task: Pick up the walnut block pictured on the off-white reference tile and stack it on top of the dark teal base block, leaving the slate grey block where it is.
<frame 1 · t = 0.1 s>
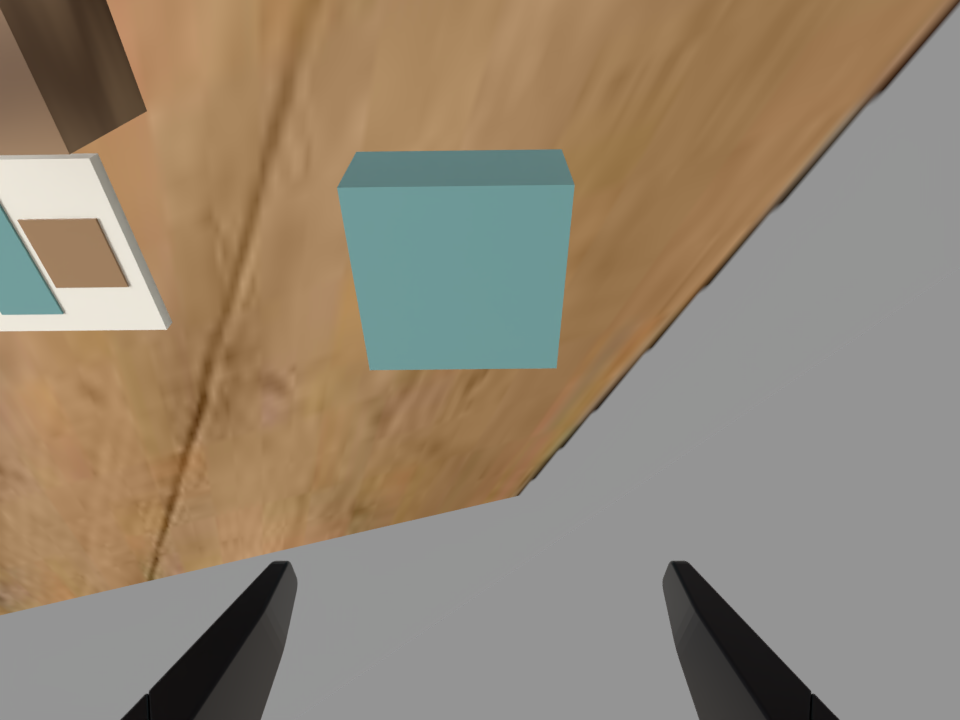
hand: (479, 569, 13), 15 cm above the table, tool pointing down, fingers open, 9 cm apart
reference tile: (47, 247, 24), on the table
walnut block: (47, 34, 19), on the table
teal base block: (462, 241, 24), on the table
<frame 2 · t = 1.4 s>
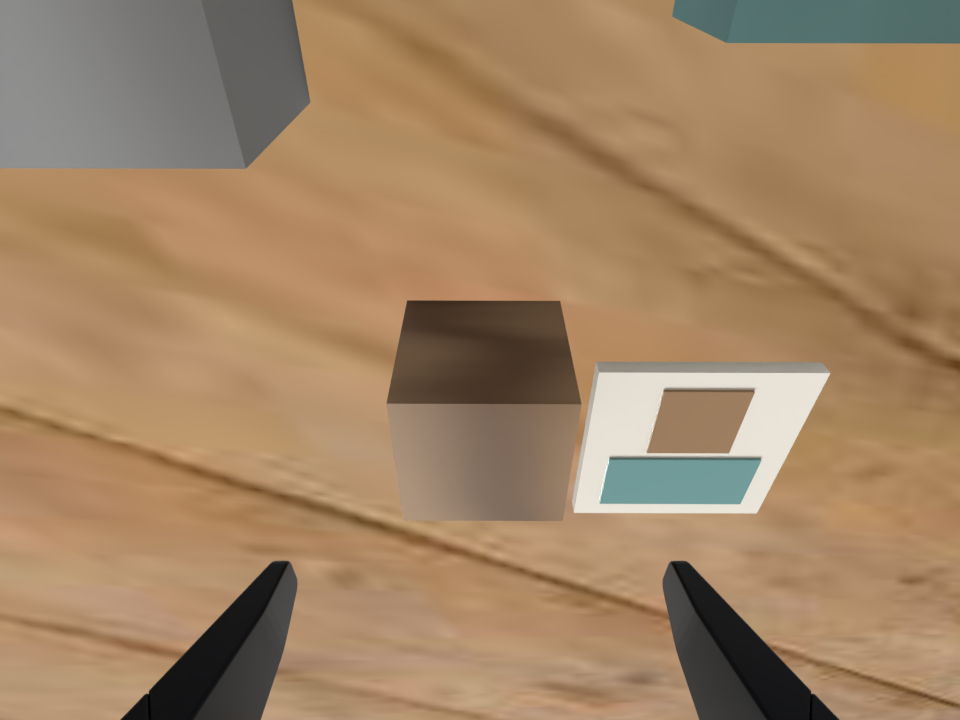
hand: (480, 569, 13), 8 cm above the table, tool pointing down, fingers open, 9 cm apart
reference tile: (682, 439, 22), on the table
walnut block: (483, 358, 19), on the table
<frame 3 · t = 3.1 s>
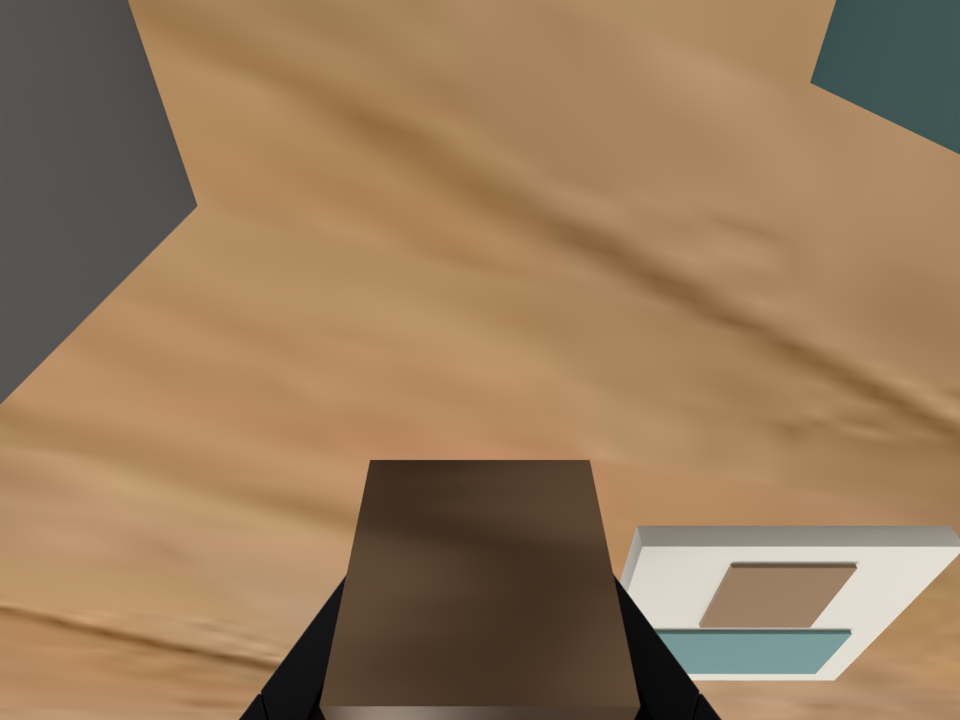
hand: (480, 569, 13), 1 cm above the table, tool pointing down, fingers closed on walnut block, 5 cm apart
reference tile: (745, 604, 16), on the table
walnut block: (479, 524, 14), on the table, touching gripper
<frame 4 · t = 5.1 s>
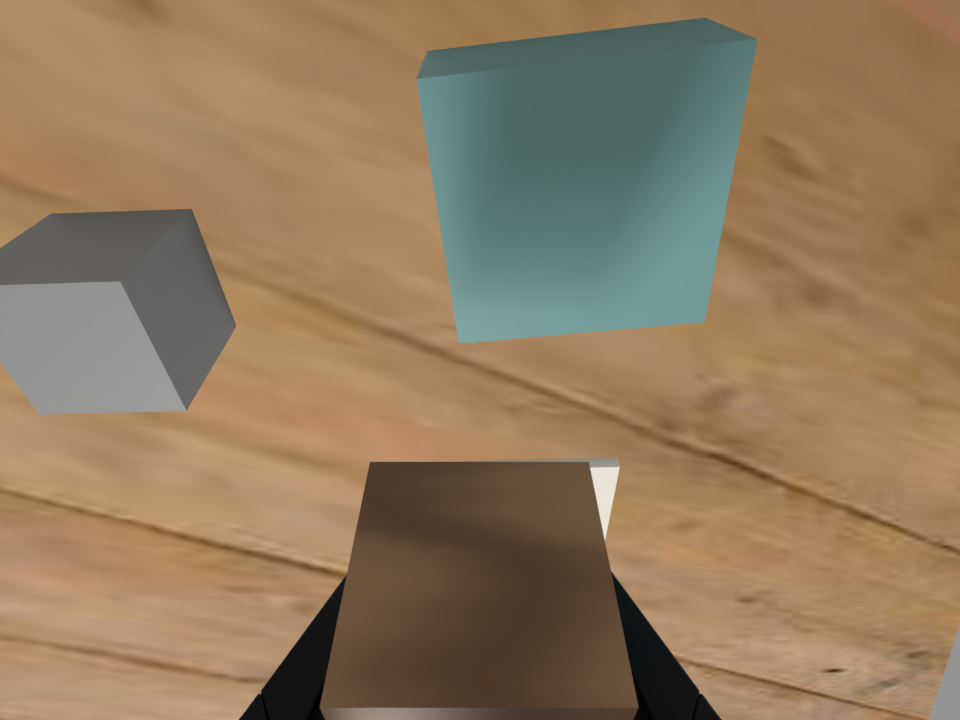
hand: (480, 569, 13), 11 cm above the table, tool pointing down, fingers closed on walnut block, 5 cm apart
reference tile: (534, 508, 30), on the table
walnut block: (479, 526, 14), point 10 cm above the table, touching gripper
teal base block: (563, 168, 18), on the table
slate grey block: (151, 273, 21), on the table
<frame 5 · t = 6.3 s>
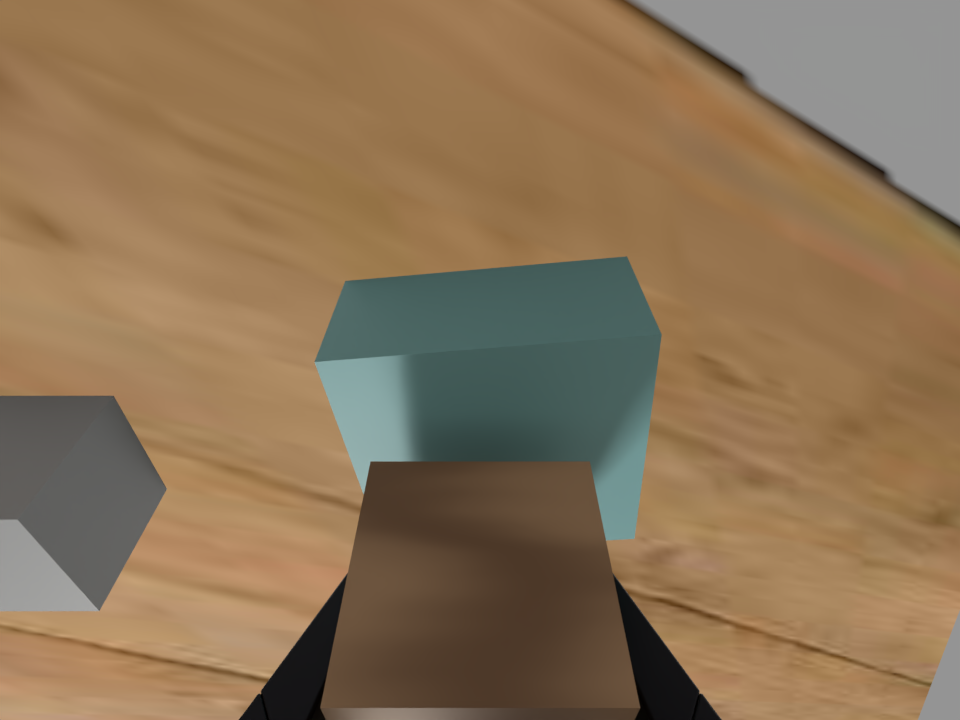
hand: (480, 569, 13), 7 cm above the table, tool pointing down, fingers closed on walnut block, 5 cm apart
walnut block: (480, 526, 14), point 5 cm above the table, touching gripper
teal base block: (495, 370, 18), on the table
slate grey block: (75, 444, 20), on the table
when the fingers open (6 cm above the table, at t = 7.1 s): walnut block drops 1 cm, resting on teal base block.
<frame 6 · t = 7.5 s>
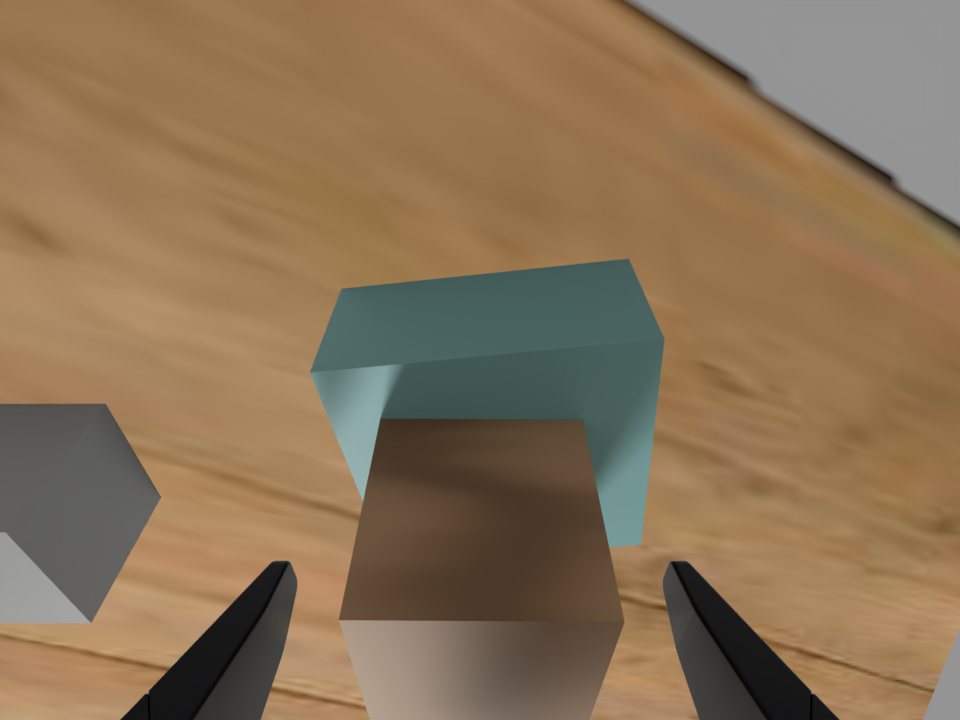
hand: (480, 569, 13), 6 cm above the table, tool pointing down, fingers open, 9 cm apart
walnut block: (480, 484, 15), point 4 cm above the table, touching teal base block
teal base block: (496, 375, 18), on the table, touching walnut block
slate grey block: (68, 452, 20), on the table
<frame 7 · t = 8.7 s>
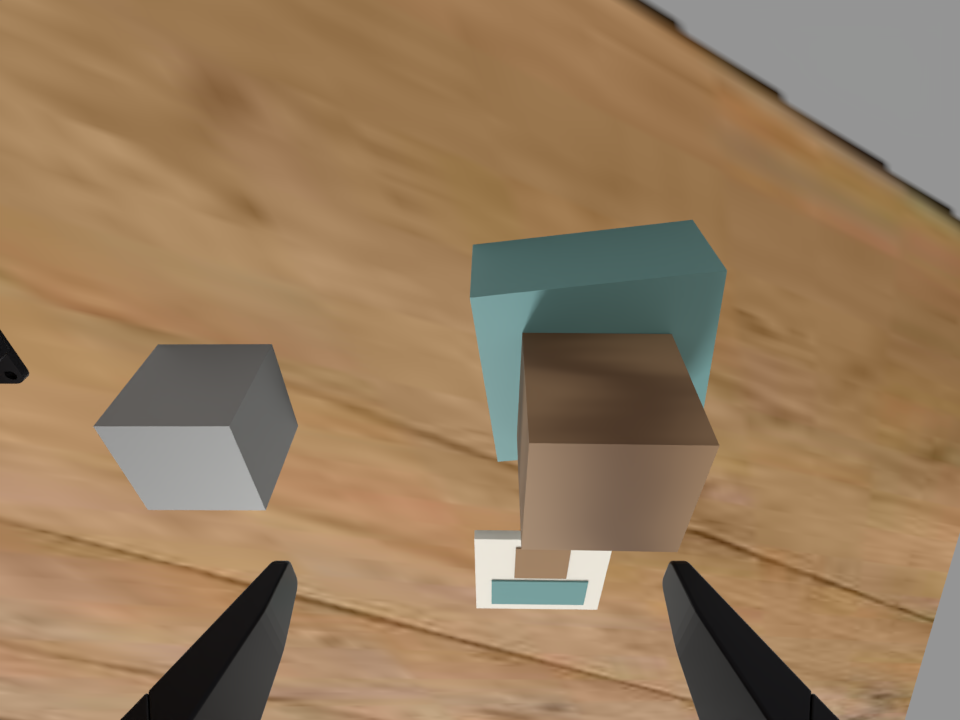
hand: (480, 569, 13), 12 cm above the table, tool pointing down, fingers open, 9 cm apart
reference tile: (539, 568, 34), on the table
walnut block: (587, 388, 20), point 4 cm above the table, touching teal base block
teal base block: (581, 317, 23), on the table, touching walnut block
slate grey block: (232, 386, 25), on the table
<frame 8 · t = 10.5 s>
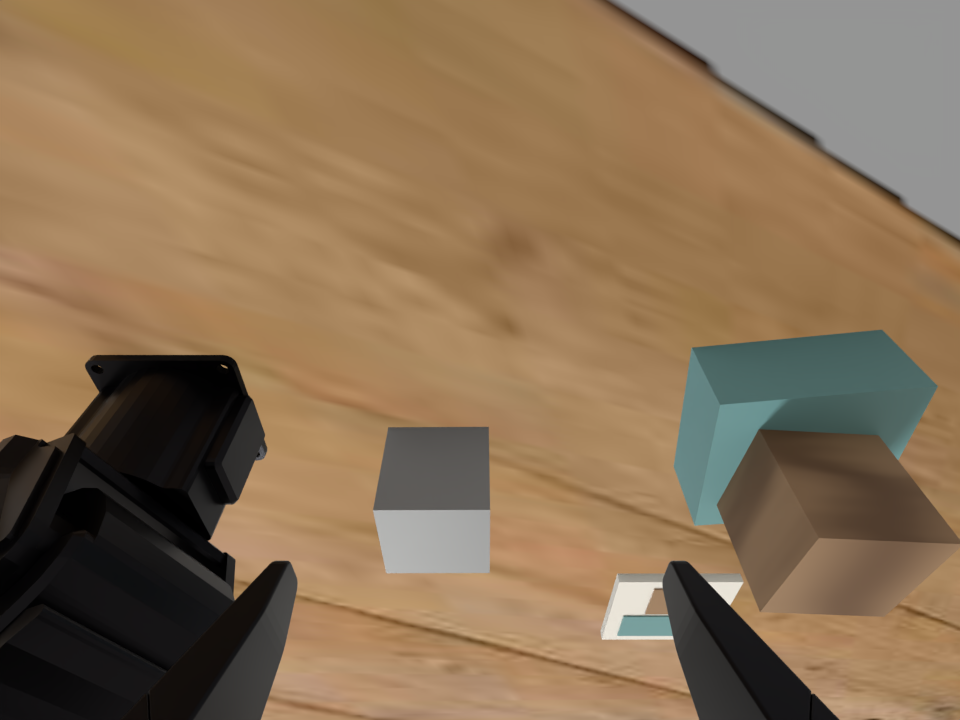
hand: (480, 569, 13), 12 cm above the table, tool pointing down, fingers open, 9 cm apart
reference tile: (665, 604, 38), on the table
walnut block: (792, 472, 24), point 4 cm above the table, touching teal base block
teal base block: (763, 400, 26), on the table, touching walnut block
slate grey block: (441, 459, 29), on the table
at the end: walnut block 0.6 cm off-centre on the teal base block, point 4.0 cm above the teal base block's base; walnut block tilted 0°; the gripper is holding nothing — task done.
